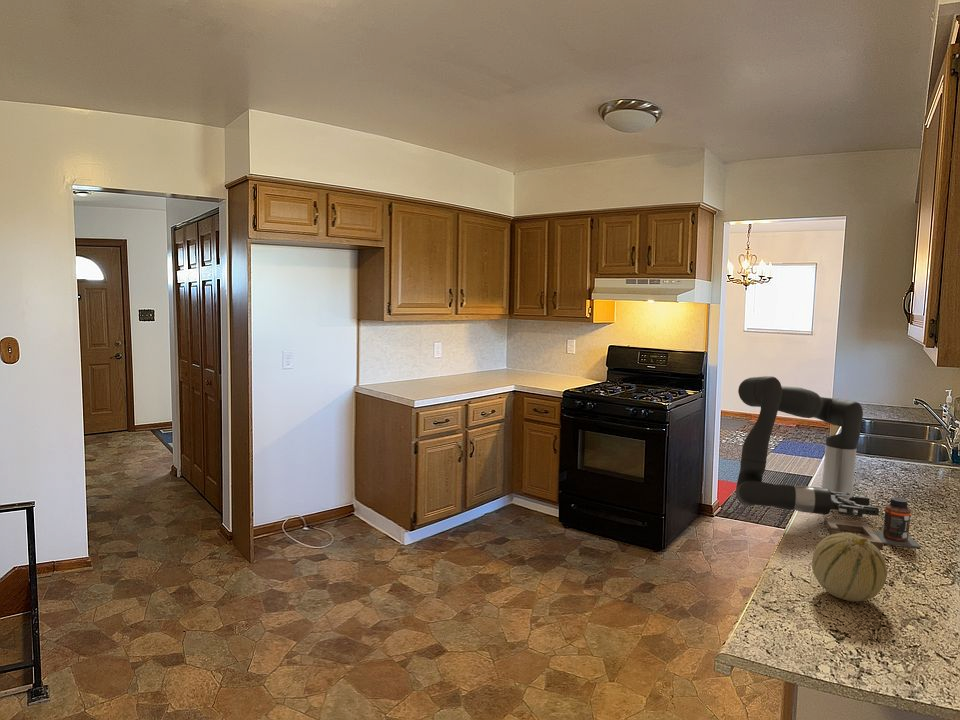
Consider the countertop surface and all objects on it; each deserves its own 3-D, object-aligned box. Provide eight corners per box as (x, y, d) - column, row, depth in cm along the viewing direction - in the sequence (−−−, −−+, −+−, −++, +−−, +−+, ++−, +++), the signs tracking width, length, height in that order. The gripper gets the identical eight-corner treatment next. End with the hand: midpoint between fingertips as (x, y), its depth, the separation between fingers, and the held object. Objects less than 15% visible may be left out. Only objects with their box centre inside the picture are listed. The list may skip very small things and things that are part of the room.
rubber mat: (872, 532, 183) (872, 530, 183) (908, 536, 180) (908, 534, 180) (882, 543, 174) (882, 542, 174) (920, 548, 172) (920, 546, 172)
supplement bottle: (911, 543, 174) (916, 503, 173) (888, 541, 175) (892, 501, 174) (902, 535, 180) (906, 496, 178) (879, 533, 181) (883, 495, 180)
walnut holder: (824, 522, 190) (824, 517, 189) (865, 527, 187) (865, 522, 186) (837, 542, 174) (838, 537, 174) (882, 548, 171) (883, 542, 171)
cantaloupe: (816, 576, 153) (822, 517, 151) (887, 595, 144) (894, 533, 142) (802, 598, 142) (807, 534, 140) (878, 621, 133) (885, 553, 131)
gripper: (817, 494, 175) (883, 501, 171) (806, 480, 189) (867, 486, 184) (815, 520, 176) (880, 528, 172) (804, 504, 190) (864, 511, 185)
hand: (873, 506), depth 178 cm, fingers open, 8 cm apart
